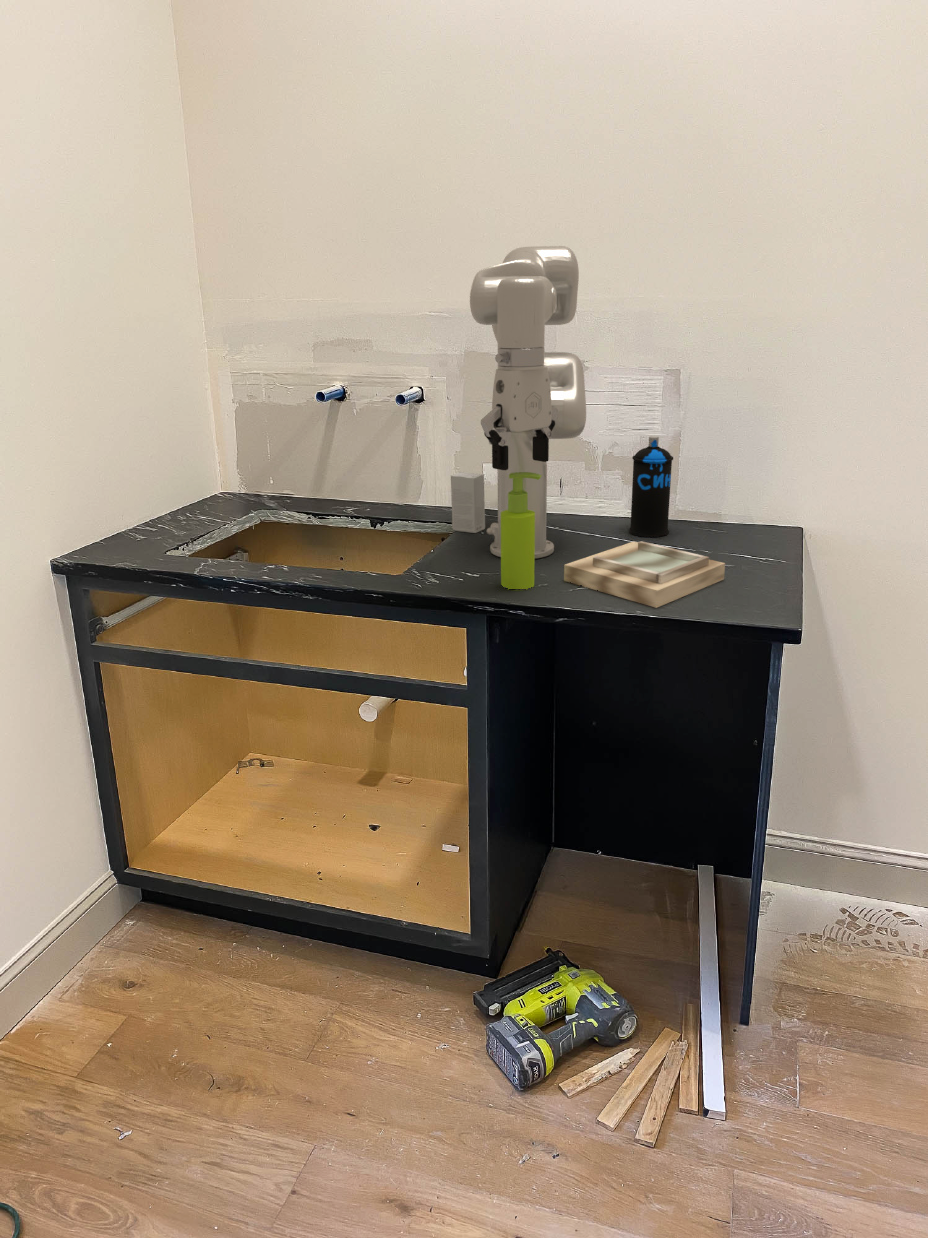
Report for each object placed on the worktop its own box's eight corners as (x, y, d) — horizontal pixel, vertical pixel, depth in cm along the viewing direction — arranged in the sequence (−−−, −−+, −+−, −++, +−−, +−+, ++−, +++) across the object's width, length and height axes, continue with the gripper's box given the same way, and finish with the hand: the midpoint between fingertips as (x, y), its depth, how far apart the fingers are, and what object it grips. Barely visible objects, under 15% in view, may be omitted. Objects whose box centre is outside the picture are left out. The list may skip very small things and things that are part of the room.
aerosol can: (624, 527, 193) (628, 433, 185) (662, 526, 193) (667, 432, 186) (634, 538, 185) (639, 440, 178) (673, 536, 185) (680, 439, 178)
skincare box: (485, 529, 194) (485, 474, 190) (475, 533, 191) (474, 478, 186) (462, 525, 197) (460, 471, 193) (451, 530, 194) (449, 475, 189)
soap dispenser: (538, 591, 156) (539, 477, 149) (498, 589, 157) (497, 476, 150) (542, 580, 161) (543, 469, 154) (503, 578, 163) (503, 469, 155)
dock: (563, 580, 161) (564, 556, 159) (632, 556, 173) (633, 533, 172) (656, 607, 147) (658, 581, 145) (723, 579, 160) (726, 555, 158)
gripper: (499, 364, 137) (500, 475, 143) (573, 356, 148) (571, 460, 154) (465, 361, 142) (467, 469, 148) (540, 354, 153) (539, 455, 159)
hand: (520, 464), depth 151 cm, fingers open, 9 cm apart
